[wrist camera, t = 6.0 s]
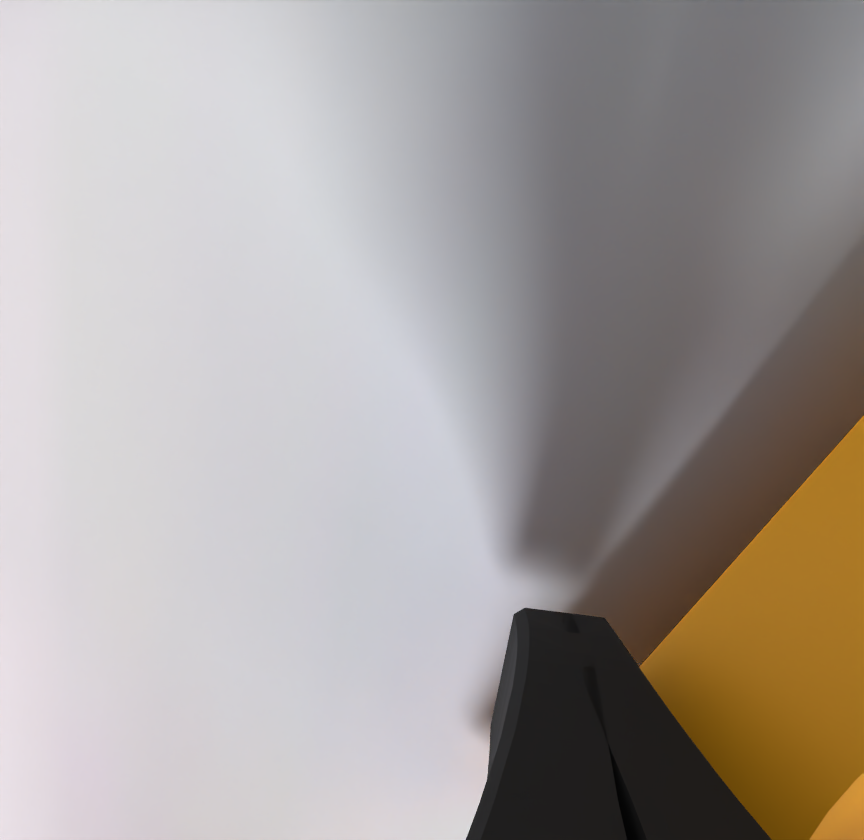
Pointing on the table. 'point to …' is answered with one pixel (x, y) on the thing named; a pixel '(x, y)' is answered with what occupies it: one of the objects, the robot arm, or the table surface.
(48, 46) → the table surface
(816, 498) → the orange notched block
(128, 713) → the table surface
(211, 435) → the table surface
